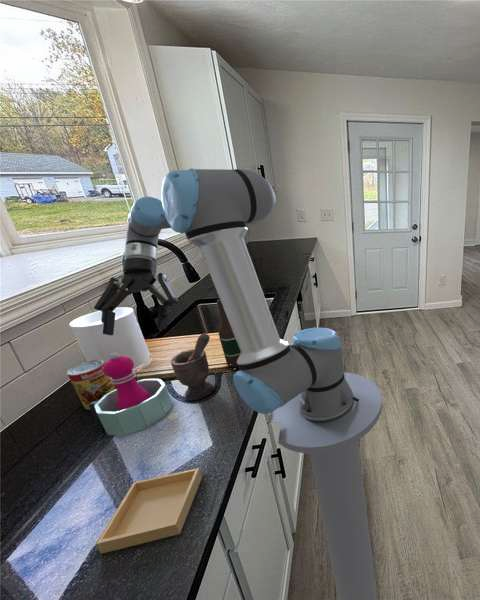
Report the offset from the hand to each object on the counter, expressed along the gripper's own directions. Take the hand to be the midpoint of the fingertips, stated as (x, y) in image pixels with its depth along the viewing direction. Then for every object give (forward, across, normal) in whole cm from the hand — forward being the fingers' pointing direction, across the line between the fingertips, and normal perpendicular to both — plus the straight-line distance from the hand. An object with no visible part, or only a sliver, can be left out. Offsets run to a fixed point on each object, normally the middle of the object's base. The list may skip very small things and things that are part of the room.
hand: (135, 331), depth 87 cm
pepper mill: (+23, -1, +7) cm, 24 cm away
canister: (+4, -22, +30) cm, 38 cm away
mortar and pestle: (+19, +13, +12) cm, 26 cm away
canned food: (+16, -17, +15) cm, 28 cm away
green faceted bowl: (+23, -3, +7) cm, 24 cm away
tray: (+42, +18, -19) cm, 49 cm away
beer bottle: (+9, +18, +25) cm, 32 cm away
